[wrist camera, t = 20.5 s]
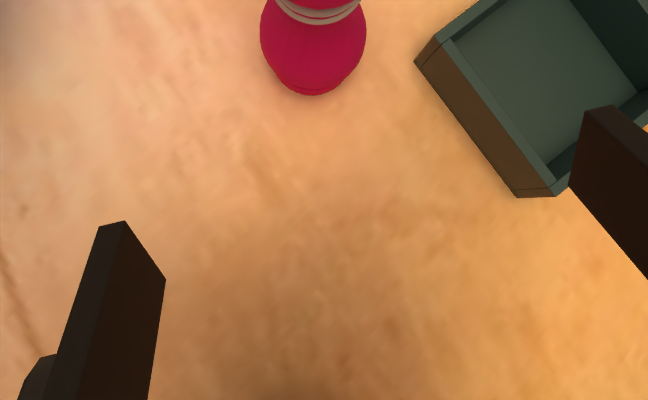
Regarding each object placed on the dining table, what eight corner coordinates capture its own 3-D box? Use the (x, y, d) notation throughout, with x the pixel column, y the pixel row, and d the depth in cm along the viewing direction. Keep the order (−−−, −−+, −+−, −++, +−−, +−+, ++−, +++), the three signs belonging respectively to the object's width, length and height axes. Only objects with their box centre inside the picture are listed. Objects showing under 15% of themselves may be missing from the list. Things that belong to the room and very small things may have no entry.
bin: (413, 61, 36) (433, 35, 30) (545, -40, 36) (589, -84, 31) (516, 198, 36) (555, 197, 30) (646, 95, 37) (707, 76, 31)
